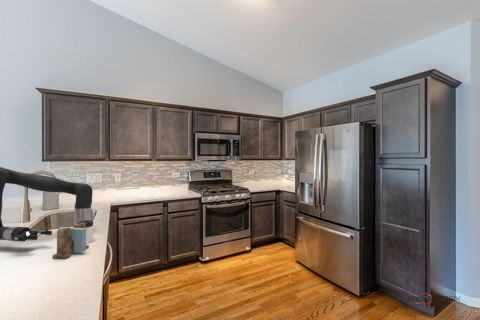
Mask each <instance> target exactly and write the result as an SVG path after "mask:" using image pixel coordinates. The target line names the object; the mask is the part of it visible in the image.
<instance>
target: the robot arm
mask: <svg viewBox="0 0 480 320" xmlns="http://www.w3.org/2000/svg"><path fill="white" fill-rule="evenodd" d="M6 184H8V185H9V184H10V185H17V186H21V187H23V188H27V189H30V190H34V191H39V192H43V191H44V192H59V193H63V194H69V195H72V196H73V195H74V196H75V203H74V218H73V219H74V221H73V222H74V224H73V225H76V224H77V223H78V222H80V221H85V220H92V221H93V219H92V204H93V187H92V186H91V185H90V184H88V183H83V182H72V181H66V180H63V179H60V178H57V177H52V176H47V175H42V174H35V173H29V172H28V173H27V172H21V171H17V170H13V169H9V168H6V167H2V166H0V240H1V241H8V242H21V243H22V242H26V241H37V240H38V238H39V237H41V236H51V235H53V231H52V230H49V229H48V228H37V229H31V228H30V227H29V226H4V224H3V220H2V213H3V212H2V211H3V195H4V189H5V186H6Z"/></svg>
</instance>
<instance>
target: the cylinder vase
mask: <svg viewBox="0 0 480 320" xmlns="http://www.w3.org/2000/svg"><path fill="white" fill-rule="evenodd" d="M59 208H60V192H59V193H57V194H56V193H55V192H44V191H42V210H43V211H53V210H54V211H55V210H57V209H59Z"/></svg>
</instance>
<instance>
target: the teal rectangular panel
mask: <svg viewBox="0 0 480 320" xmlns="http://www.w3.org/2000/svg"><path fill="white" fill-rule="evenodd" d="M64 228H71V241H74V252H75V253H81V254H83V253H84V252H86V250H87V249H86V245H87V243H86V228H73V227H70V226H69V227H66V226H65V227H64V226H61V227H59V228H57V231H58V230H61V229H64Z"/></svg>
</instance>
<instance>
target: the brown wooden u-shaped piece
mask: <svg viewBox="0 0 480 320" xmlns="http://www.w3.org/2000/svg"><path fill="white" fill-rule="evenodd" d="M71 228H86V223H79V224H76V225H74V224H73V227H69V228H64V229H61V230H58V229H57V230H56V253H54V254H52V257H51V258H52V259H54V260H67V259H69V258H71V255H73V254H74V253H76V252H74V241H71ZM87 249H90V245H89V244H86V250H87Z"/></svg>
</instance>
